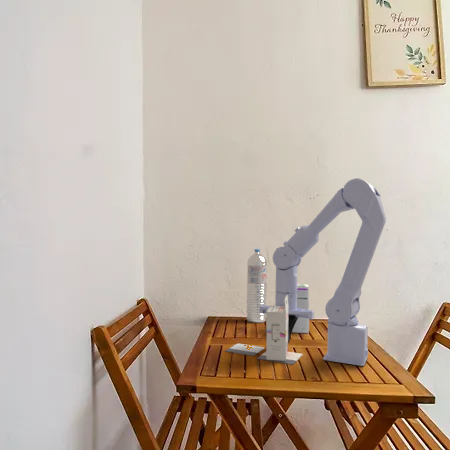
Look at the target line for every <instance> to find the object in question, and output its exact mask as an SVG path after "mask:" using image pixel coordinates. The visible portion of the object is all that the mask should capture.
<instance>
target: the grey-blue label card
mask: <svg viewBox="0 0 450 450" xmlns="http://www.w3.org/2000/svg"><path fill="white" fill-rule="evenodd" d="M244 345H246V346H244ZM247 345H249V347H252V348H253V349H252V348H250V350H248V349H249V348H248V349H246V348H247ZM265 348H266V347H263V346H259V345H252V346H250V344H243V343H239V342H238V343H236V344H234V345H233V346H231V347H229V348H228V349H226V350H224V352H227V353H232V354H233V353H234V354H239V355H245V356H250V357H251V356H252V357H255V356H256V355H257V354H258V353H260V352H262V351H263V350H264V349H265Z"/></svg>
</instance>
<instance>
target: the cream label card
mask: <svg viewBox="0 0 450 450" xmlns="http://www.w3.org/2000/svg"><path fill="white" fill-rule="evenodd" d="M303 355H304V353H299V352H293V351H288V352H287V357H286V361H277V360H266V351H265V352H263V353H262V354H260V355H259V356H257V358H256V359H257V360H263V361H268V362H275V363H280V364H286V365H292V366H293V365H294V364H296V362H297V361H298V360H299V359H300V358H301V357H303Z"/></svg>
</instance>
